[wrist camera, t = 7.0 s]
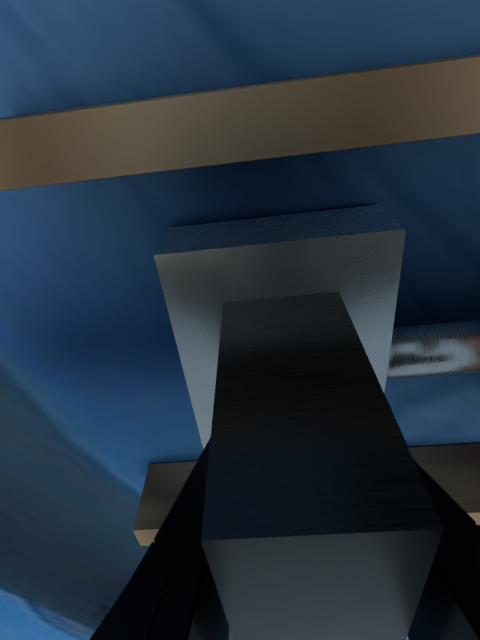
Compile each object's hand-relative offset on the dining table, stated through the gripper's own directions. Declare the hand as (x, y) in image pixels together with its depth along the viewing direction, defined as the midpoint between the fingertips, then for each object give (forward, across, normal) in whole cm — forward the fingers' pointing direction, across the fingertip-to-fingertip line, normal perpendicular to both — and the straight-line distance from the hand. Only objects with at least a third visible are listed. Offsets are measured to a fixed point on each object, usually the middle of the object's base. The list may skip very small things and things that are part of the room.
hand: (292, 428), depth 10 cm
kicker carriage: (+4, -3, 0) cm, 5 cm away
